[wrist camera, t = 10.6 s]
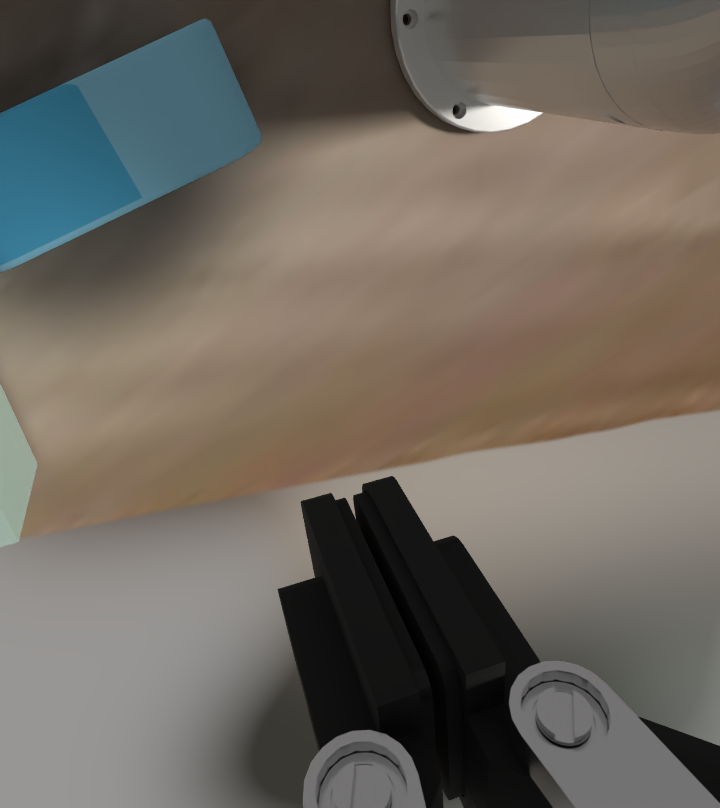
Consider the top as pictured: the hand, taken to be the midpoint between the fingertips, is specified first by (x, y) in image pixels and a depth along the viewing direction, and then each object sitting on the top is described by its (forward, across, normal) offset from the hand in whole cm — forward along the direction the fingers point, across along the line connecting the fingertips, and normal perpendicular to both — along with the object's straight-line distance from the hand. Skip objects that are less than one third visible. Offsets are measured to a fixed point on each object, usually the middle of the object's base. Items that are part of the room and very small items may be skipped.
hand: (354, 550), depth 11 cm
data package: (+29, +4, -5) cm, 30 cm away
